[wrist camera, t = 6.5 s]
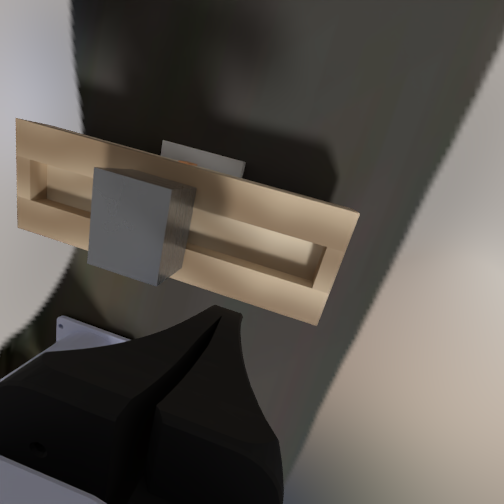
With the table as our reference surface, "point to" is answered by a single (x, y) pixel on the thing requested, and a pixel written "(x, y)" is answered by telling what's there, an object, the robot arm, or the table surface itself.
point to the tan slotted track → (195, 217)
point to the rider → (139, 224)
